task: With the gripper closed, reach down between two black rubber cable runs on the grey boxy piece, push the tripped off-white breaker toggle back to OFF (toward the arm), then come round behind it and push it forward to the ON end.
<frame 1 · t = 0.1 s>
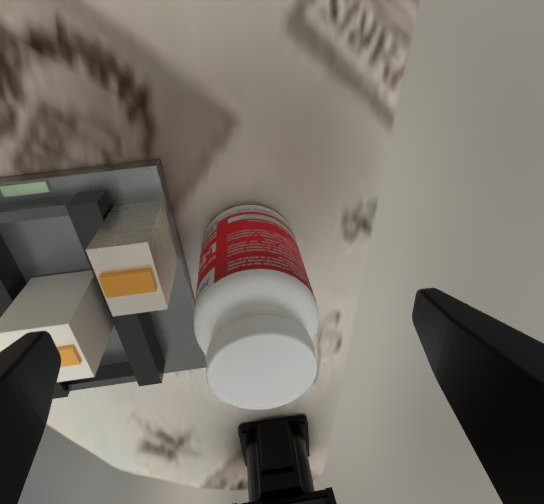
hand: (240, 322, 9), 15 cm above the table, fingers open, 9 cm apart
breaker toggle: (60, 326, 22), point 4 cm above the table, slide at 4.0 cm
grey boxy piece: (105, 284, 25), on the table
pill bottle: (248, 242, 25), on the table
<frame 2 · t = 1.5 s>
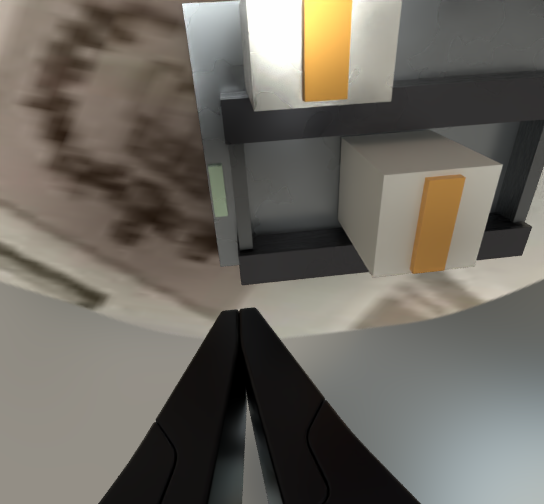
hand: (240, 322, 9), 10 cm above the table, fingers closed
breaker toggle: (405, 199, 15), point 4 cm above the table, slide at 4.0 cm
grey boxy piece: (374, 137, 18), on the table
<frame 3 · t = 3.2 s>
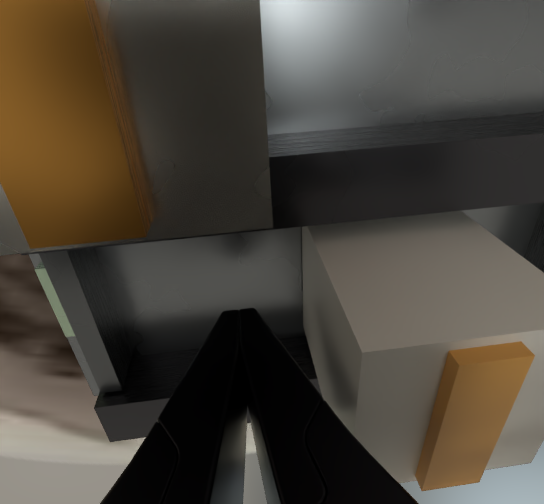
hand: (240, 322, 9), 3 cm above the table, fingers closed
breaker toggle: (406, 329, 9), point 4 cm above the table, slide at 2.8 cm, touching gripper
grey boxy piece: (319, 208, 11), on the table
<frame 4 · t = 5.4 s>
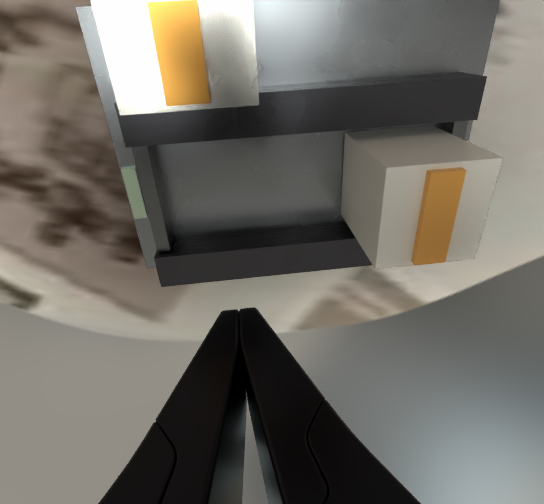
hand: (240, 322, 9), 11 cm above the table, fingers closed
breaker toggle: (407, 192, 15), point 4 cm above the table, slide at 0.0 cm
grey boxy piece: (295, 139, 18), on the table
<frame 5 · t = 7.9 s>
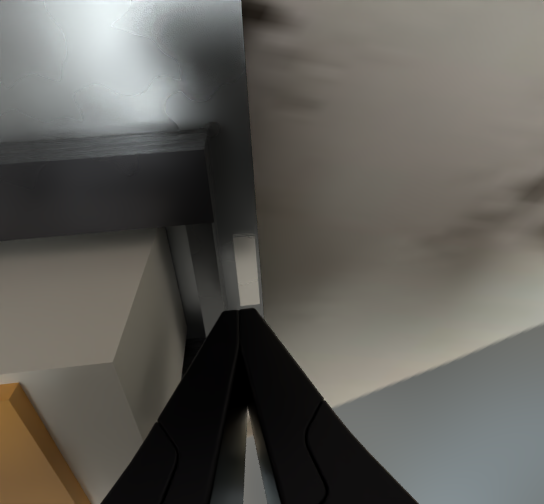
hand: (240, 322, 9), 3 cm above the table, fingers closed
breaker toggle: (72, 354, 8), point 4 cm above the table, slide at 0.5 cm, touching gripper
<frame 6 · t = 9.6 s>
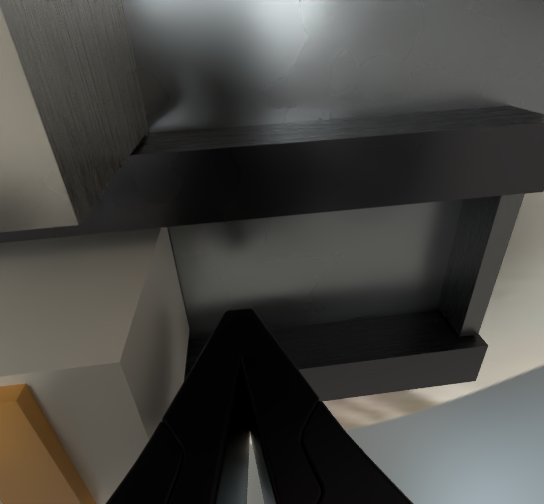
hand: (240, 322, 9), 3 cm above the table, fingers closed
breaker toggle: (76, 355, 8), point 4 cm above the table, slide at 8.1 cm, touching gripper
grey boxy piece: (242, 206, 11), on the table
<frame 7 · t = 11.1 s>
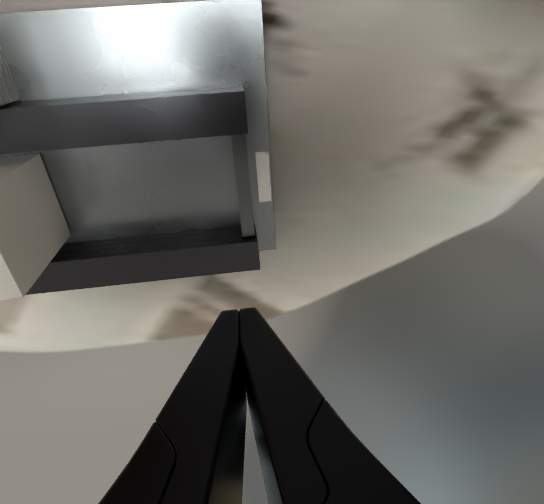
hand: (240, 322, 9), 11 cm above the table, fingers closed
grey boxy piece: (99, 152, 17), on the table
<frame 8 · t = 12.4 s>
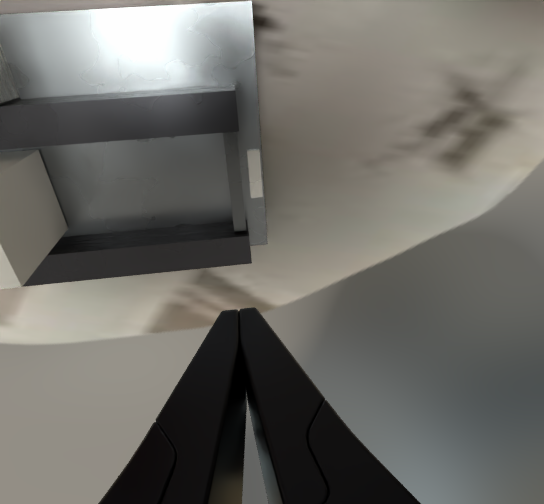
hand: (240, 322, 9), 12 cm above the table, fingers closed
grey boxy piece: (96, 149, 18), on the table
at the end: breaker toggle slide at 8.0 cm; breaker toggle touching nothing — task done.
